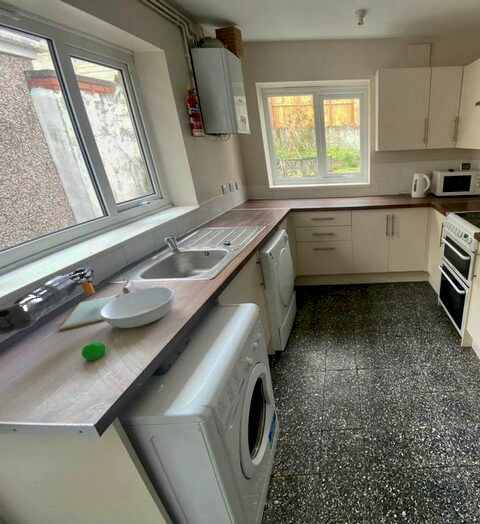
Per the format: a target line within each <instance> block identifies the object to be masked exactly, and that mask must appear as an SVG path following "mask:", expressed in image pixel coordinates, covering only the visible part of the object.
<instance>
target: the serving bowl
mask: <svg viewBox="0 0 480 524" xmlns="http://www.w3.org/2000/svg"><path fill="white" fill-rule="evenodd" d="M174 304H175V292H174V290H173V289H172V288H170V287H166V286H153V287H152V286H151V287H147V288H146V287H145V288H141V289H136V291H133V292H130V293H127V294H122V295H120V296H118V297H117V298H116V299H114V300H112V301H110V302H109V303H108V304H106V305H105V306H104V307H103V308H102V309H101V312H100V315H101V317H102V318H103V319H104V320H103V321H104V322H105V323H106V324H108V325H110V326H112V327H115V328H120V329H131V328H137V327H142V326H145V325H149V324H150V323H153V322H155V321H158V320H159V319H161V318H162V317H164V316H165V315H166V314H168V313H169V312H170V311H171V309H172V308H173V306H174Z"/></svg>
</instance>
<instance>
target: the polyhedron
mask: <svg viewBox="0 0 480 524" xmlns="http://www.w3.org/2000/svg"><path fill="white" fill-rule="evenodd" d="M105 353H106V345H105V344H103V343H101V342H100V341H93V342H89V343H88V344H86V345H85V346H83V348H82V350H81V356H82V358H84V359H85V360H87V361H93V360H98V359H99V358H101V357H102V356H103V355H105Z"/></svg>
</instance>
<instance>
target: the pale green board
mask: <svg viewBox="0 0 480 524" xmlns="http://www.w3.org/2000/svg"><path fill="white" fill-rule="evenodd" d="M118 297H119V294H114V295H109V296H104V297H99V298H94V299H90V300H86V301H81V302H79V303H78V305H77V306H76V307H75V308H74V309H73V311H72V312H71V313H70V314H69V316H68V317H67V318H66V320H65V321H64V322H63V324H62V325H61V326H60V328H59V331H65V330H70V329H73V328H77V327H82V326H86V325H90V324H94V323H99V322H103V321H105V320H104V319H103V318H102V317H101V315H100V312H101V309H102V308H103V307H104V306H105V305H106V304H108V303H109V302H110V301H112V300H114V299H116V298H118Z"/></svg>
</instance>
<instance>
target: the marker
mask: <svg viewBox="0 0 480 524" xmlns="http://www.w3.org/2000/svg"><path fill="white" fill-rule="evenodd" d="M85 270H86V269H85V267H78V268H75V269H74V272H76V273H81V272H83V271H85ZM83 277H84V275H83ZM80 286H81V287H82V289H83V292H84V295H86V296H90V295H93V294H95V293H96V292H95V289H94V287H93V285H92V282H91V283H88V282H87V281H86V282H83V283H82V284H81V285H80Z"/></svg>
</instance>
